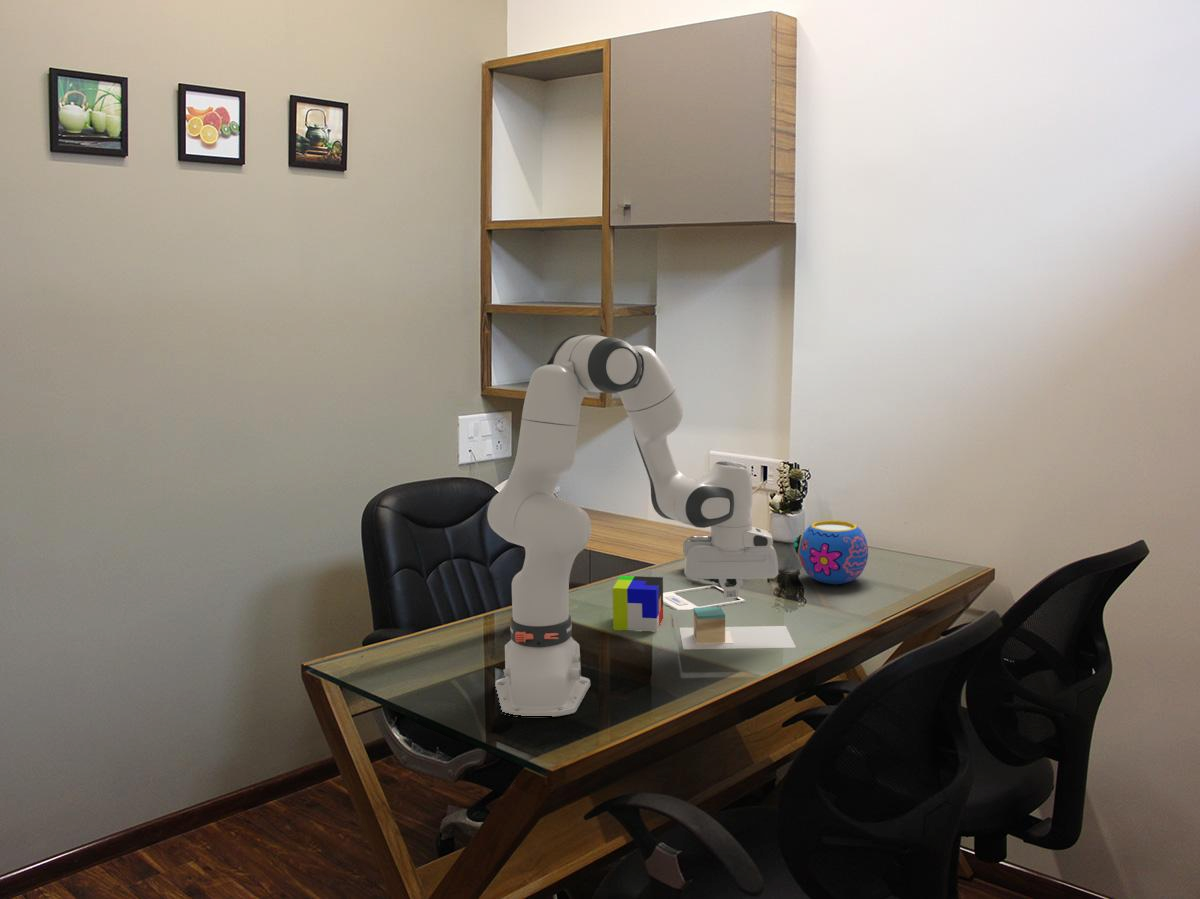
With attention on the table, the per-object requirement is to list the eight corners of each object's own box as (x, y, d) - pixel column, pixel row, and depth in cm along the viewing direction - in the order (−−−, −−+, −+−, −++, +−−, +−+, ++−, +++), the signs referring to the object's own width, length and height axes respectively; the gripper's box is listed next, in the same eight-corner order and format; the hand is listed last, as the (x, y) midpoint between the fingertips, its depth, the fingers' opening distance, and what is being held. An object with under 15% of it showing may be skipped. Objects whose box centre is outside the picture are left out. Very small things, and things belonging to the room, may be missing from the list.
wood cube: (697, 616, 237) (697, 643, 238) (725, 615, 237) (725, 642, 238) (693, 607, 243) (693, 633, 244) (720, 606, 243) (720, 632, 244)
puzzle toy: (656, 632, 249) (656, 589, 247) (613, 630, 251) (612, 588, 249) (663, 618, 258) (662, 577, 256) (621, 616, 260) (620, 575, 259)
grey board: (796, 652, 234) (796, 647, 234) (683, 653, 235) (683, 648, 234) (785, 630, 248) (785, 625, 248) (679, 631, 248) (679, 627, 248)
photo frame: (652, 593, 275) (714, 584, 282) (652, 598, 275) (714, 588, 282) (680, 610, 262) (745, 599, 269) (680, 614, 262) (744, 603, 269)
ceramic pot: (827, 568, 297) (827, 514, 294) (881, 582, 283) (883, 525, 281) (783, 581, 286) (784, 525, 283) (838, 596, 272) (839, 537, 270)
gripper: (684, 539, 234) (684, 602, 237) (780, 538, 234) (779, 601, 236) (682, 532, 240) (682, 593, 243) (775, 531, 240) (774, 592, 243)
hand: (730, 597), depth 240 cm, fingers closed
